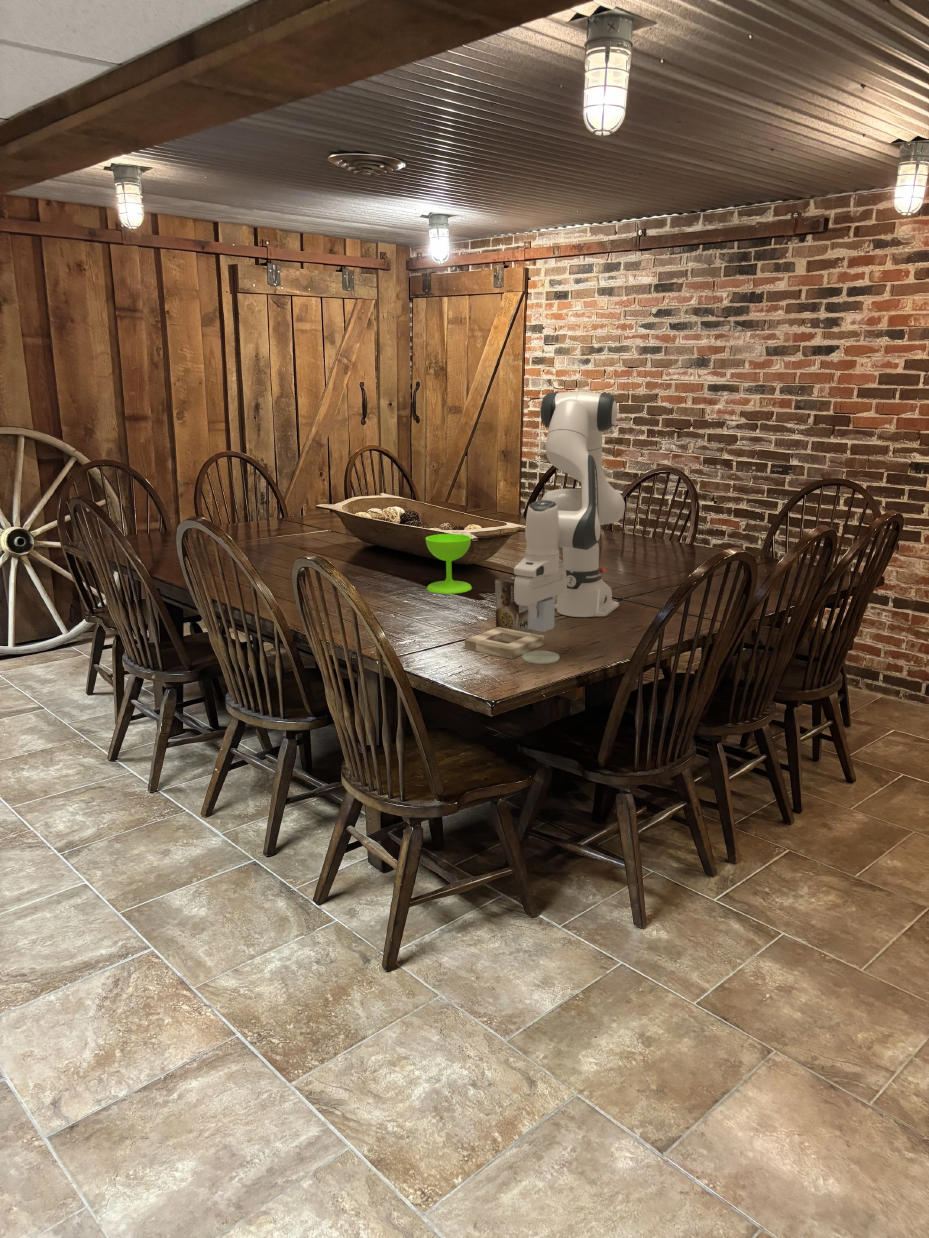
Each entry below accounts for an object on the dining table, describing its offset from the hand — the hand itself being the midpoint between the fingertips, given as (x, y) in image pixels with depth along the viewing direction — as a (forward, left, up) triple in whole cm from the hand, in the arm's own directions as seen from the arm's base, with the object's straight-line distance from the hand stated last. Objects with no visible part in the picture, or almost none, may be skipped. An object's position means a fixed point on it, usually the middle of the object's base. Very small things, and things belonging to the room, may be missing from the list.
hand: (541, 615), depth 242 cm
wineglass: (-48, -70, -12) cm, 86 cm away
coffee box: (-16, -20, -12) cm, 29 cm away
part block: (0, 0, -4) cm, 4 cm away
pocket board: (-3, -14, -12) cm, 19 cm away
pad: (0, 0, -12) cm, 12 cm away
